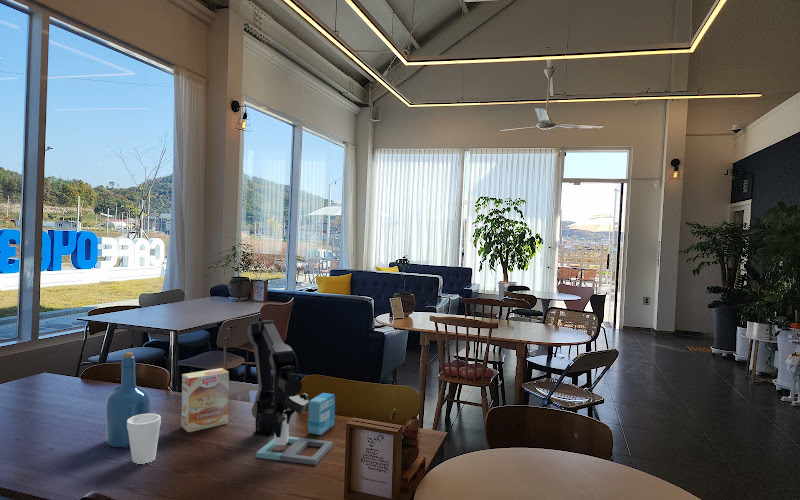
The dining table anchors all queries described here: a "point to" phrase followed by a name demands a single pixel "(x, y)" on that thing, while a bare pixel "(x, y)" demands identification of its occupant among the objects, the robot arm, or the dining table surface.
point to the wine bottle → (125, 404)
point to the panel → (296, 450)
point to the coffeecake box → (205, 399)
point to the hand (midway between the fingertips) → (281, 434)
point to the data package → (321, 413)
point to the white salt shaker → (283, 433)
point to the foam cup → (143, 437)
